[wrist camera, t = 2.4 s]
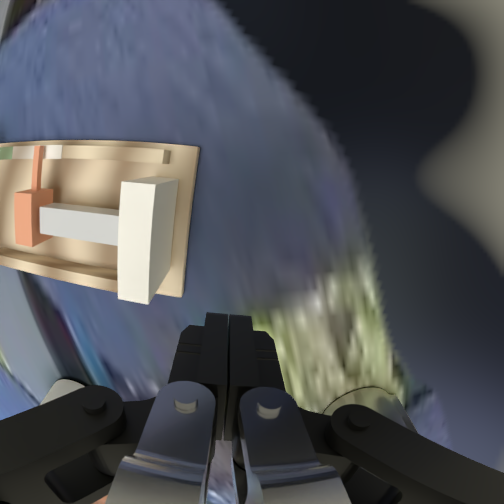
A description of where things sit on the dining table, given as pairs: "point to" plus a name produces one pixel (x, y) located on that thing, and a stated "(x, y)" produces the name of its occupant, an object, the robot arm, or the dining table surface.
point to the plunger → (126, 232)
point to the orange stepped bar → (31, 206)
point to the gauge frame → (92, 204)
